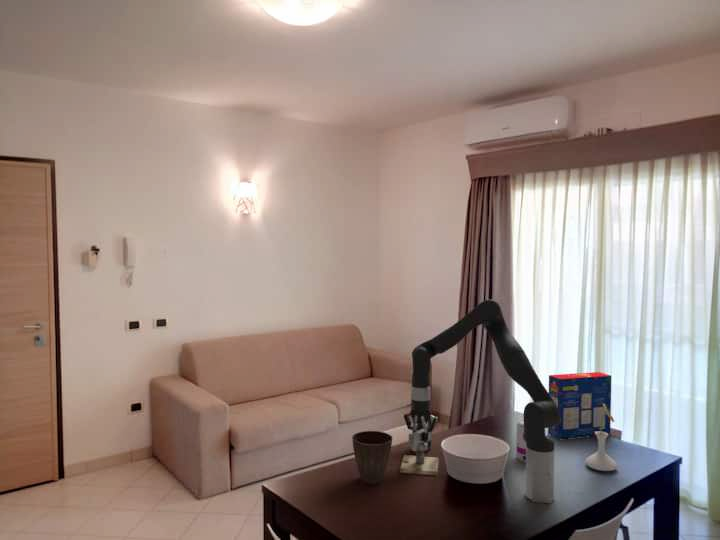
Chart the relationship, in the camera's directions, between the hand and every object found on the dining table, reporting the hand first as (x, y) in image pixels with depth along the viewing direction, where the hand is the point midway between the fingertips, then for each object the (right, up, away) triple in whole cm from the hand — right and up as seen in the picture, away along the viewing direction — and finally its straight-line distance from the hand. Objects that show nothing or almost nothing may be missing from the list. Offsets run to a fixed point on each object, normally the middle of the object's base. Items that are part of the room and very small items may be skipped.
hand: (420, 440), depth 207 cm
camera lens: (+3, -10, +19) cm, 22 cm away
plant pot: (-19, -11, -13) cm, 25 cm away
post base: (0, -10, 0) cm, 10 cm away
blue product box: (+79, -10, +39) cm, 89 cm away
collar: (0, -3, 0) cm, 3 cm away
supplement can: (+45, -11, +9) cm, 47 cm away
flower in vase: (+72, -11, +1) cm, 73 cm away
